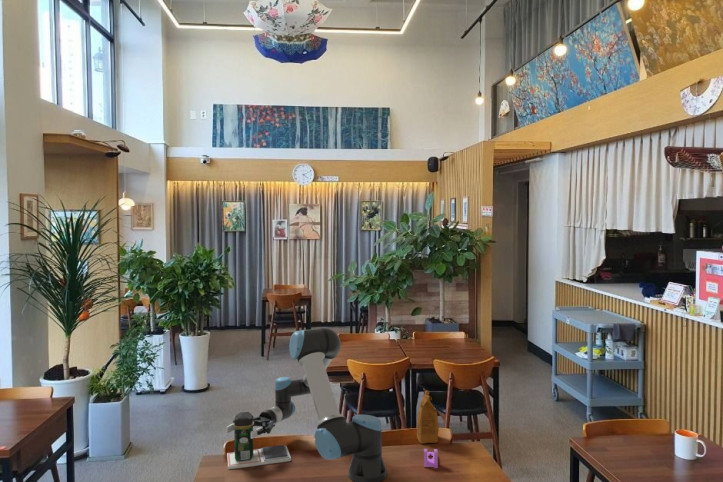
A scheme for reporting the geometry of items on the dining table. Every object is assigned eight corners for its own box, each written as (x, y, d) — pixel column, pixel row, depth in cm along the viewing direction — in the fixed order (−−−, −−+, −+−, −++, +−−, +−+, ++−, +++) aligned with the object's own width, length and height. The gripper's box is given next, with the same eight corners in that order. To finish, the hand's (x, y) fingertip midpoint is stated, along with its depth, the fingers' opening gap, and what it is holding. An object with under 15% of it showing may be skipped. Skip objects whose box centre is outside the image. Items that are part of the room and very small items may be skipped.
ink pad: (289, 457, 216) (289, 455, 216) (263, 461, 212) (263, 458, 212) (285, 446, 228) (285, 444, 228) (260, 449, 225) (260, 447, 225)
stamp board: (291, 460, 215) (291, 457, 215) (228, 469, 208) (228, 466, 208) (286, 448, 229) (286, 445, 229) (227, 455, 221) (227, 452, 221)
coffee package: (437, 434, 243) (436, 389, 243) (439, 445, 231) (438, 397, 231) (416, 434, 244) (415, 389, 244) (417, 444, 231) (417, 396, 231)
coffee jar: (235, 453, 221) (235, 410, 221) (253, 451, 222) (253, 409, 222) (233, 462, 211) (233, 418, 212) (252, 461, 213) (252, 417, 213)
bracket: (437, 468, 207) (437, 451, 207) (424, 467, 208) (423, 450, 208) (436, 455, 220) (436, 439, 220) (424, 454, 221) (423, 438, 221)
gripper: (292, 429, 227) (262, 446, 208) (249, 421, 238) (216, 436, 220) (292, 413, 227) (261, 428, 208) (249, 405, 238) (216, 419, 220)
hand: (238, 432), depth 214 cm, fingers open, 13 cm apart
